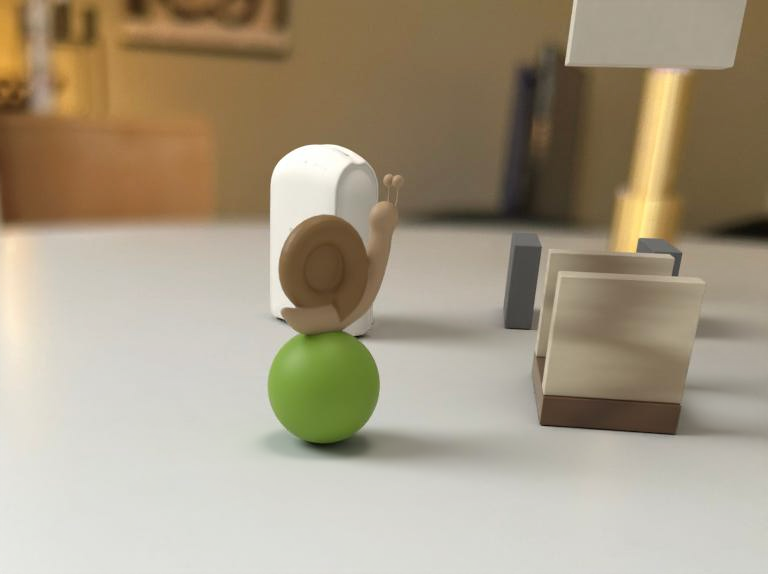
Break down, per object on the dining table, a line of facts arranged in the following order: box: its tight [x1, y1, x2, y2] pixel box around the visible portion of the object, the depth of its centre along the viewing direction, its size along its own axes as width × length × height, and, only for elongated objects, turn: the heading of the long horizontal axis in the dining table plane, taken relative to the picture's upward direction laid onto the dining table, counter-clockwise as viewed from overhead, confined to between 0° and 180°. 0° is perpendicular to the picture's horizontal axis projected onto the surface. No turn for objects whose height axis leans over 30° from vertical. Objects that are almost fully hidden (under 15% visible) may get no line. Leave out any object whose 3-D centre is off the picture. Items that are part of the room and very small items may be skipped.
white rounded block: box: [269, 143, 379, 337], centre depth 73 cm, size 10×4×12 cm, turn 29°
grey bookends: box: [502, 231, 683, 330], centre depth 78 cm, size 12×9×6 cm
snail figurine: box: [267, 173, 405, 444], centre depth 47 cm, size 5×6×12 cm
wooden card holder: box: [531, 248, 707, 435], centre depth 56 cm, size 7×12×8 cm, turn 170°
